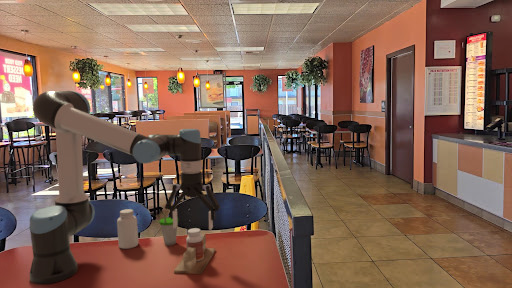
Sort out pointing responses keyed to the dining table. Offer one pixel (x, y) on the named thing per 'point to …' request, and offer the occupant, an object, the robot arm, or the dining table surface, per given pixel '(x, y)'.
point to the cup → (168, 230)
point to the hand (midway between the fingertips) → (193, 227)
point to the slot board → (194, 260)
